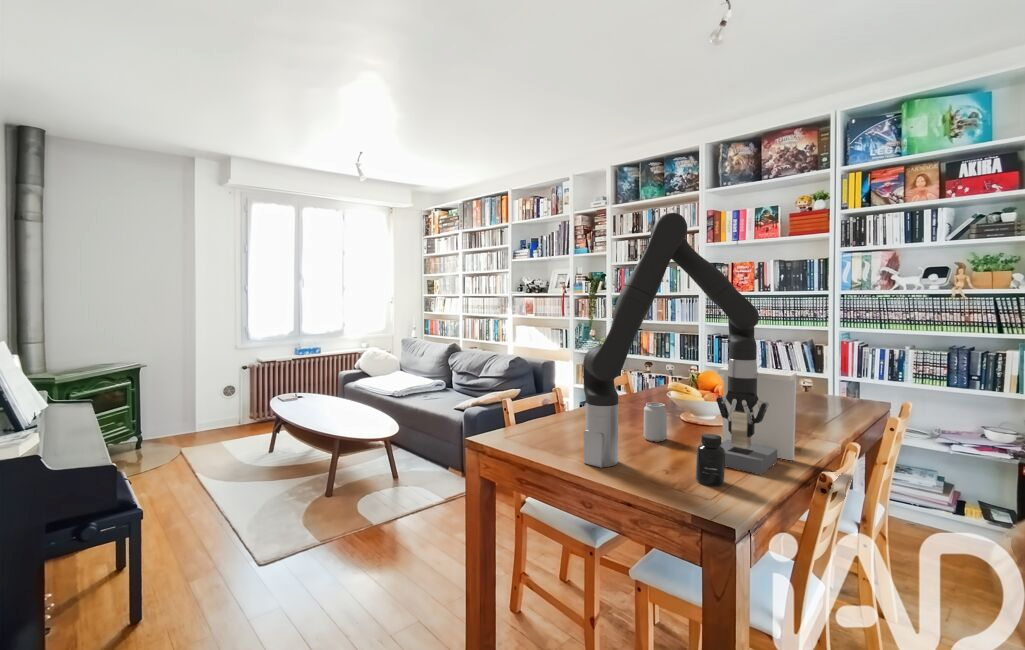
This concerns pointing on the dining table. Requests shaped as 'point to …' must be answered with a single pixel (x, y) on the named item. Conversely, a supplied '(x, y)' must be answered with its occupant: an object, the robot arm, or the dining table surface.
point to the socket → (749, 457)
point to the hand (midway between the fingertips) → (741, 434)
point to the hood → (771, 411)
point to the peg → (740, 430)
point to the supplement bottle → (710, 461)
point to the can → (655, 422)
